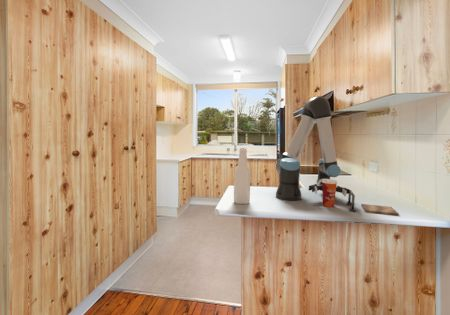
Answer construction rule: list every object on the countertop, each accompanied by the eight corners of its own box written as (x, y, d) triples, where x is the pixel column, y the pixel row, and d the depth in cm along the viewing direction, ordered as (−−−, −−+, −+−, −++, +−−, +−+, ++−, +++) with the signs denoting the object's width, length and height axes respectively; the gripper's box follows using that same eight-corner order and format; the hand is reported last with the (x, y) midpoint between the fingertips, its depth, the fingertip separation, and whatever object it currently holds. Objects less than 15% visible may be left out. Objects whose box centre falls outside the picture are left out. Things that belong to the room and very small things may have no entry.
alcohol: (249, 200, 143) (251, 147, 141) (249, 204, 134) (251, 148, 132) (234, 200, 144) (235, 147, 141) (233, 204, 135) (234, 148, 133)
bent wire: (349, 211, 126) (350, 194, 125) (345, 203, 141) (346, 188, 140) (356, 212, 125) (357, 195, 124) (351, 204, 140) (352, 189, 139)
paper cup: (328, 208, 131) (329, 181, 130) (317, 204, 138) (318, 179, 137) (339, 206, 134) (340, 180, 133) (328, 203, 141) (329, 178, 140)
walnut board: (365, 212, 125) (365, 210, 125) (361, 205, 138) (361, 203, 138) (398, 215, 121) (398, 213, 121) (390, 208, 133) (391, 206, 133)
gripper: (347, 193, 152) (356, 201, 132) (303, 189, 158) (305, 196, 138) (348, 181, 151) (357, 187, 131) (304, 177, 157) (306, 183, 137)
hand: (330, 192), depth 134 cm, fingers open, 14 cm apart
